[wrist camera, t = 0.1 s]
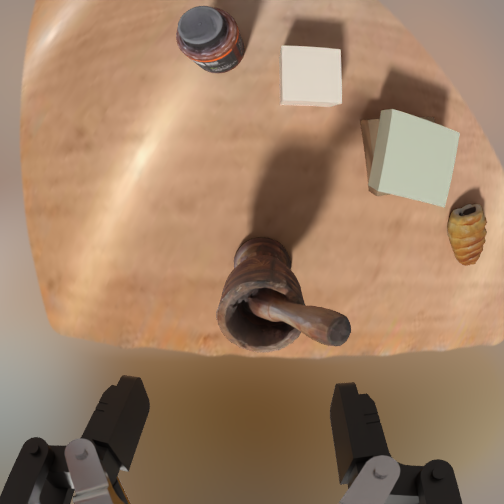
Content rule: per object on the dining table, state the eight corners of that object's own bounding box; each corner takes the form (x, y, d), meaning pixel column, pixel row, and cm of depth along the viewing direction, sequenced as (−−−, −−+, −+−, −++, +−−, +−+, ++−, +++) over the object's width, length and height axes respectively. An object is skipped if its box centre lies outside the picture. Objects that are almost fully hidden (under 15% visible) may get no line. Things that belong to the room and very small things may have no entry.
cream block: (279, 58, 31) (281, 45, 26) (329, 60, 31) (340, 49, 25) (279, 104, 33) (282, 100, 28) (330, 107, 33) (341, 103, 28)
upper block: (381, 110, 30) (392, 108, 27) (444, 131, 30) (459, 132, 27) (367, 185, 33) (377, 191, 30) (431, 200, 33) (444, 207, 30)
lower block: (359, 120, 34) (367, 119, 30) (421, 116, 33) (434, 116, 29) (367, 190, 37) (376, 196, 34) (427, 183, 36) (439, 188, 33)
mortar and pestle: (275, 200, 38) (284, 274, 19) (325, 243, 40) (368, 341, 21) (218, 265, 42) (184, 370, 23) (267, 301, 43) (265, 415, 25)
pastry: (480, 253, 39) (493, 263, 36) (448, 268, 40) (460, 279, 37) (476, 198, 36) (490, 205, 32) (442, 211, 37) (455, 220, 34)
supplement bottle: (226, 22, 29) (210, -15, 19) (254, 56, 31) (249, 28, 21) (185, 49, 31) (155, 22, 20) (213, 83, 33) (190, 66, 22)
